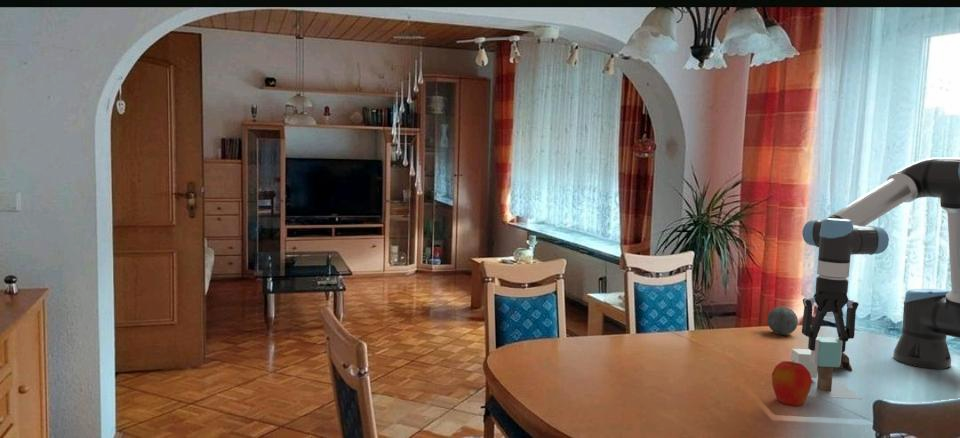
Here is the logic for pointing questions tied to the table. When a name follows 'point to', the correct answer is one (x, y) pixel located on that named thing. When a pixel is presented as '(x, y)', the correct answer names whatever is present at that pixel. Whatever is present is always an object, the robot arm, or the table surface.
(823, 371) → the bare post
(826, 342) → the pale aqua cube
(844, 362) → the dark brown curved piece
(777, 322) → the decorative ball
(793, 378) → the apple
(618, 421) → the table surface
